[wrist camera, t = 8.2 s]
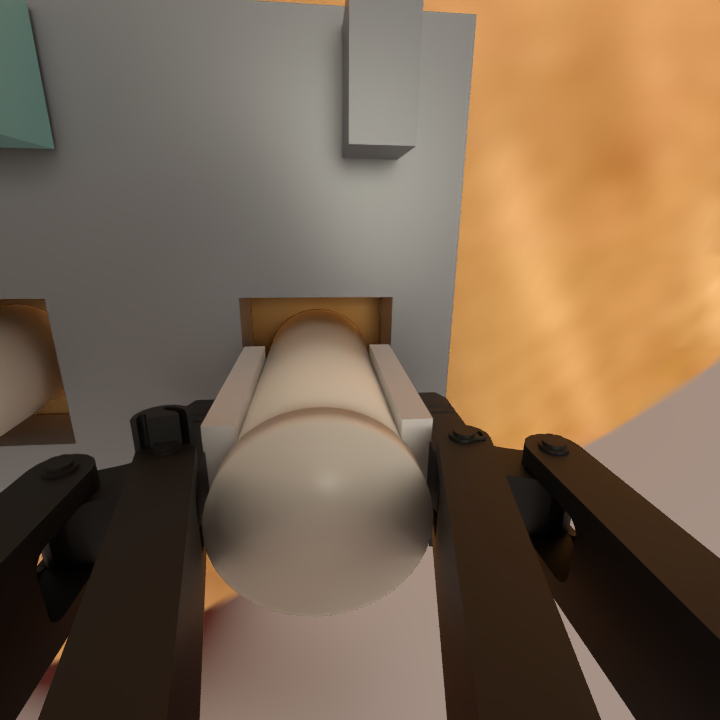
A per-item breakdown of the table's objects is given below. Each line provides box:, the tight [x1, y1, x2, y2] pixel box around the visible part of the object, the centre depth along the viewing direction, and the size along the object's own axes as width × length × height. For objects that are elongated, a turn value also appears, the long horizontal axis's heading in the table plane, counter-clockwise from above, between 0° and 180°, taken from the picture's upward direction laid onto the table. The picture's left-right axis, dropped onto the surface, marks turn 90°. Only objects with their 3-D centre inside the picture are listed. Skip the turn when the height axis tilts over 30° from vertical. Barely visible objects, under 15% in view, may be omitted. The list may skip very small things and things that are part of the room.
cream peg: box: [202, 310, 434, 617], centre depth 15 cm, size 5×5×12 cm
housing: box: [0, 0, 476, 493], centre depth 16 cm, size 18×24×6 cm
